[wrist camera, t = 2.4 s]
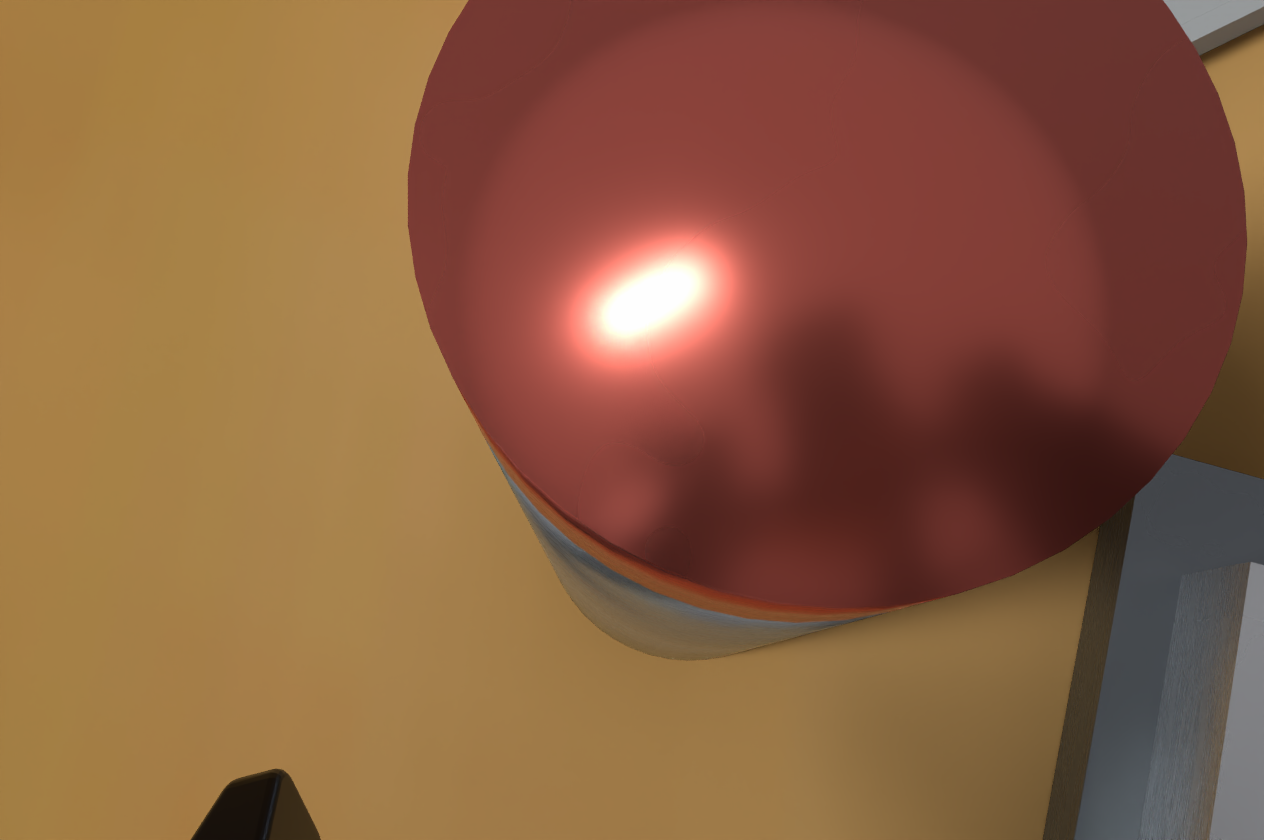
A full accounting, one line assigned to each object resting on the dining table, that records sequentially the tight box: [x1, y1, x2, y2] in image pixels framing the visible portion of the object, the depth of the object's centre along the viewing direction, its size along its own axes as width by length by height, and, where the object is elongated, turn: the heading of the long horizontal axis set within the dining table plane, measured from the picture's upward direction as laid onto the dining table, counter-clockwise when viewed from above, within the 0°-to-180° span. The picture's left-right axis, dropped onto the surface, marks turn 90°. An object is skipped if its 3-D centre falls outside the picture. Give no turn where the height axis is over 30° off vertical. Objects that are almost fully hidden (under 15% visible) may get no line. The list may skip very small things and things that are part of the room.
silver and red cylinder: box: [408, 0, 1247, 660], centre depth 13 cm, size 5×5×13 cm
